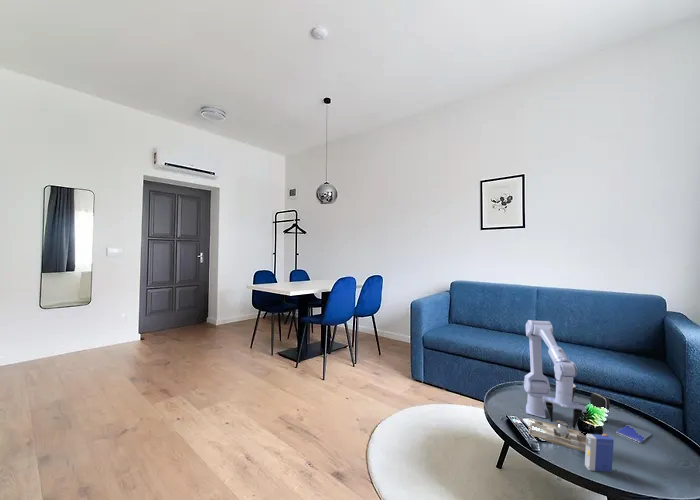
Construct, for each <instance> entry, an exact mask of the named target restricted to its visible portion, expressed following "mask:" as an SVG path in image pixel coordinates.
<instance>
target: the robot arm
mask: <svg viewBox="0 0 700 500" xmlns="http://www.w3.org/2000/svg"><path fill="white" fill-rule="evenodd" d="M553 327H554V326H553V324H552V322H551V321H550V320H532V319H528V320H527V321H526V323H525V336H526V337H527V338H528V340H529V341H528V342H529V364H530V372H528V373H527V374H526V375H524V381H523V387H524V388H523V389H524V391H525V392H526V393H527V398H526V399H527V400H526V401H527V403H526V404H525V414H527V415H531V416H534V417H539V418H544V419H547V418H546V409H547V412H548V415H549V421H550V423H553V420H554V417H553V415H554V413H553V411H554V406H559V407H561V408H565V409H571V410H573V412H572V413H573V414H572V415H573V417H572V428H573V429H576V426H577V423H578V422H579V420H580V418H582V416H583V413H586V410H587V407H586V405H585V404H584V405H583V404H580V403H576V402H574V401H573V402H572V395H573V384H574V378H576V377H577V376H578V367H577V365H576V364H575V362H574V361H572V360H570V359H569V358H568V357H567V354H566V353H565V351H564V349H563V348H562V347H561V346H558V344H557V341H556V339H555V337H554V335H553V332H554V328H553ZM542 340H543V342H544V343H545V345H546V346H547V347H548V349H547V353H548V355H549V357H550V360H551V361H552V363H553V370H554V378H555V381H556V382H555V397H549V396H548V395H549V394H550V392H551V386H550V382H549V378H548V377H547V376H546V375H544V373H543V358H542V356H543V354H542ZM553 405H554V406H553ZM545 407H546V409H545Z"/></svg>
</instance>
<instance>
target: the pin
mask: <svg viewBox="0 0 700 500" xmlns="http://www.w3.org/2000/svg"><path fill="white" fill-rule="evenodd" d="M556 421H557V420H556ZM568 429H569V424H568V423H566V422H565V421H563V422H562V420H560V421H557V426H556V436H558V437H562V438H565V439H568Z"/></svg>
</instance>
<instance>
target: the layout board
mask: <svg viewBox="0 0 700 500" xmlns="http://www.w3.org/2000/svg"><path fill="white" fill-rule="evenodd" d="M529 420H531V421H534V422H535V423H532V422H530V427H529V426H528V435H529V434H530V435H532V436H534V437H538V438H541V439H543V440H542V441H544V440H545V442H548V443H552V444H555V445H559V446H562V447H565V448H570V449H573V450H576V451H580V452H583V453H585V451H586V435H584V434H583V433H584V432H583V433H581V432H582V431H579V430H576V429H572V428H568V439H565V438H562V437H558V436H556V426H557V421H562V420H556V425H555V424H553V423H548V422H545V421H541V420H537V419H533V418H530V417H529V418H528V421H529ZM562 422H564V421H562ZM532 426H534V427H537V428H540V429H543V430H544V431H545V433H543V432H540V431H536V430H532ZM529 428H530V429H529ZM534 437H533V438H534ZM541 439H540V440H541Z"/></svg>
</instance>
